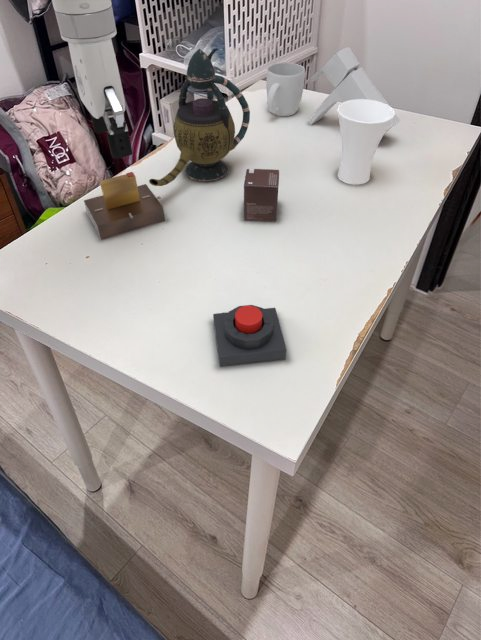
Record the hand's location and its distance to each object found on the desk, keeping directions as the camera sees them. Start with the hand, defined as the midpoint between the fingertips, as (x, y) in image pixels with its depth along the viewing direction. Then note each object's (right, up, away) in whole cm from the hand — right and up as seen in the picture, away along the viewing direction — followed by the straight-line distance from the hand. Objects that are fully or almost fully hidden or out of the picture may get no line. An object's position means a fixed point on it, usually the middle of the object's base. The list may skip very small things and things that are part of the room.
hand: (113, 143), depth 76 cm
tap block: (0, -10, +10) cm, 14 cm away
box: (+25, -9, +11) cm, 28 cm away
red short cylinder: (+22, -29, -13) cm, 39 cm away
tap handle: (0, -8, +8) cm, 11 cm away
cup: (+44, 0, +20) cm, 48 cm away
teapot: (+12, 0, +20) cm, 23 cm away
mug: (+31, +23, +41) cm, 56 cm away
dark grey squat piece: (+22, -32, -10) cm, 40 cm away
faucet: (+46, +15, +34) cm, 59 cm away
